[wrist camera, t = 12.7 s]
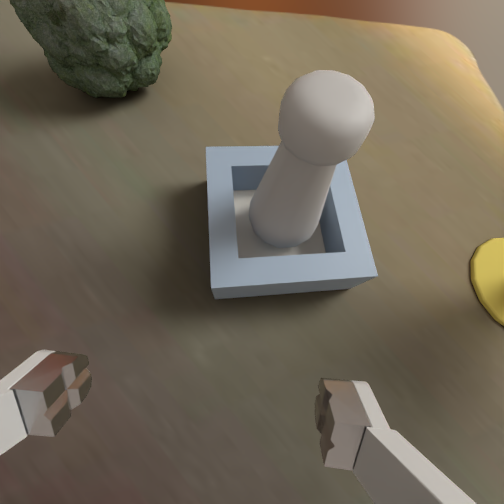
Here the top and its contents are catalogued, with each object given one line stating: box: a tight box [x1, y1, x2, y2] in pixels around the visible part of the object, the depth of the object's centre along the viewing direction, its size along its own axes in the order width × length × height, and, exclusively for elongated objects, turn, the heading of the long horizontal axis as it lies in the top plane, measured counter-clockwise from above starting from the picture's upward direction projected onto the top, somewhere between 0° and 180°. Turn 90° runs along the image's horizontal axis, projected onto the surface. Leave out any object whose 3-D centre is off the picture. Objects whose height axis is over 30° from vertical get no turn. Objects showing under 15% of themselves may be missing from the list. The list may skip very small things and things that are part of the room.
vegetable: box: [10, 0, 172, 98], centre depth 25 cm, size 12×13×15 cm
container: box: [206, 146, 378, 299], centre depth 22 cm, size 12×12×4 cm
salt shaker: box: [249, 70, 375, 248], centre depth 17 cm, size 6×6×13 cm
